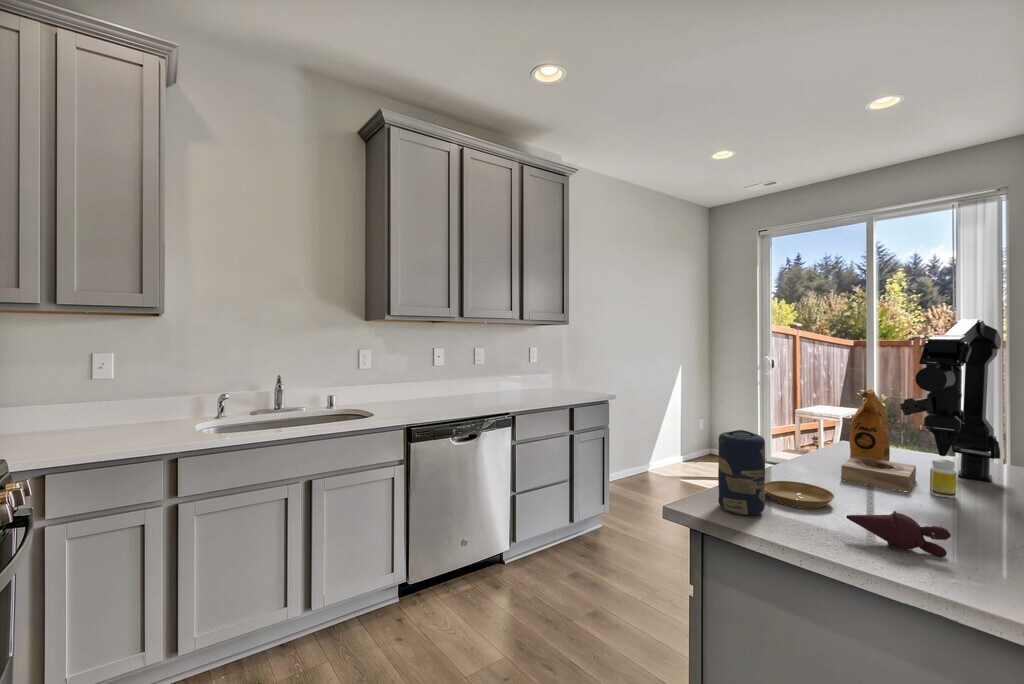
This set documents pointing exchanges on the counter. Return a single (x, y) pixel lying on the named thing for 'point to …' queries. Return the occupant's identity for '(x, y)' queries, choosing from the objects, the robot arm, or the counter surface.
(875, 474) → the wooden holder block
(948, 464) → the supplement bottle
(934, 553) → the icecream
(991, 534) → the counter surface
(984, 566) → the counter surface
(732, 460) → the canister
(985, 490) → the counter surface
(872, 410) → the coffee package
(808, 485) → the plant saucer
